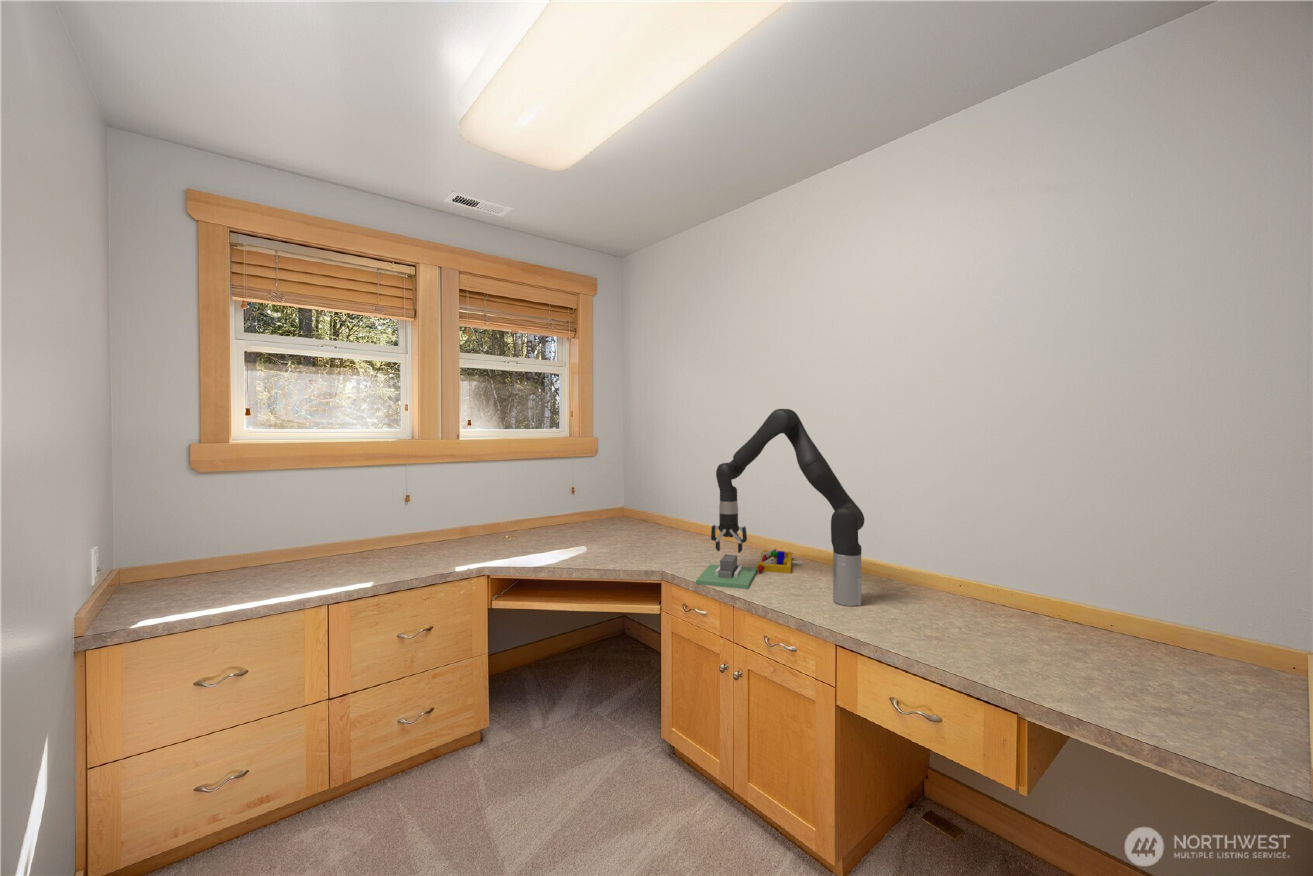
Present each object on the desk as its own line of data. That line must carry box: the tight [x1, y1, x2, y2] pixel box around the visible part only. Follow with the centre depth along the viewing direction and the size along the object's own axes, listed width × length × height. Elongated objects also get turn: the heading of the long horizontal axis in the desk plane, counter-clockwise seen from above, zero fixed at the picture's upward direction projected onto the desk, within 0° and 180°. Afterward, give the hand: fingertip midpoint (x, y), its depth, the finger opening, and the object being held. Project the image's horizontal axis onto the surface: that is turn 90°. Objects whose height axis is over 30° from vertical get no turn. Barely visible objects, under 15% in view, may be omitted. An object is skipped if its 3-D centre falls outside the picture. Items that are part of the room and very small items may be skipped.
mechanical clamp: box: [756, 547, 803, 574], centre depth 231 cm, size 18×6×30 cm
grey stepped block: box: [718, 554, 738, 579], centre depth 214 cm, size 13×5×6 cm, turn 161°
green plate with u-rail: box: [695, 563, 758, 590], centre depth 213 cm, size 20×24×3 cm
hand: (729, 551), depth 215 cm, fingers open, 8 cm apart
